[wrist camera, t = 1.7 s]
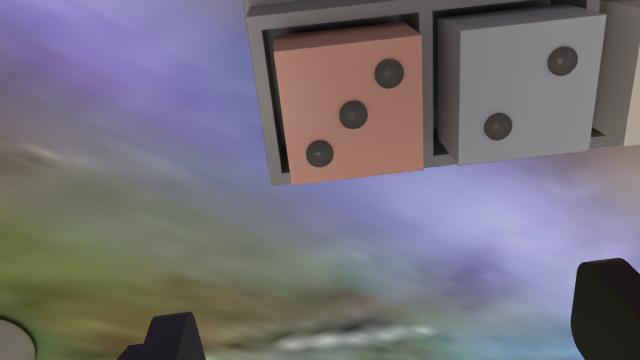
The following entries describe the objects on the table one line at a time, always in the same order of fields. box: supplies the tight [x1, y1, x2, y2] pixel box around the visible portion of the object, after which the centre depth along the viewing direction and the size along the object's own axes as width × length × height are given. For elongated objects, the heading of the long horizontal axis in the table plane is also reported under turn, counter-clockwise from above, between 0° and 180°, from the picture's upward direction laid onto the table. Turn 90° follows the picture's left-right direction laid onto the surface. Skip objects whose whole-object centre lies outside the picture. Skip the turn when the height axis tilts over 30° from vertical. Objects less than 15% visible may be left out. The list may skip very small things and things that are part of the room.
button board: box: [243, 0, 620, 186], centre depth 27 cm, size 24×10×5 cm, turn 96°
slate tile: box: [438, 4, 607, 166], centre depth 24 cm, size 6×6×4 cm
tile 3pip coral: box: [274, 22, 424, 185], centre depth 24 cm, size 6×6×4 cm
